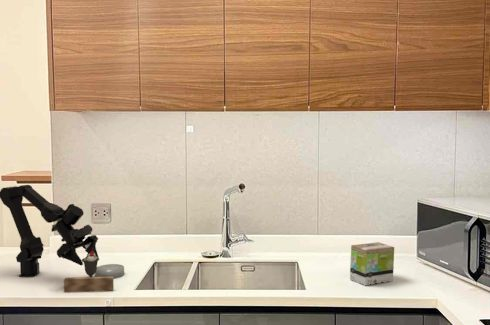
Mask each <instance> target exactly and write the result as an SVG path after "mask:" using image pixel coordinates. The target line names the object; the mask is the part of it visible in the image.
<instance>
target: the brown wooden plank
mask: <svg viewBox="0 0 490 325" xmlns="http://www.w3.org/2000/svg"><path fill="white" fill-rule="evenodd" d="M114 283H115V282H114V279H113V277H95V276H93V277H89V276H77V277H69V276H68V277H64V279H63V292H64V293H78V292H79V293H80V292H81V293H83V292H84V293H86V292H88V293H89V292H113V291H114V286H115V285H114Z"/></svg>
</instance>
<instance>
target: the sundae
mask: <svg viewBox="0 0 490 325" xmlns="http://www.w3.org/2000/svg"><path fill="white" fill-rule="evenodd" d="M92 250H93V249H92ZM81 260H82V262H83V265H84V270H85V274H86V275H87V276H88V277H94V276H95V273H96V270H97V267H98V262H99V261H100V257H99V258H97V257H96V255H95V253H94V251H91V252H89V253H87V254H86V256H85V257H83V258H82V259H81Z"/></svg>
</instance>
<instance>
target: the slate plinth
mask: <svg viewBox="0 0 490 325" xmlns="http://www.w3.org/2000/svg"><path fill="white" fill-rule="evenodd" d="M123 276H125V266H124V265H123V264H117V263H109V264H102V265H97V270H96V273H95V274H94V277H113V280H114V279H118V278H121V277H123Z"/></svg>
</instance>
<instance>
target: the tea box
mask: <svg viewBox="0 0 490 325" xmlns="http://www.w3.org/2000/svg"><path fill="white" fill-rule="evenodd" d="M394 261H395V247H394V246H393V245H388V244H385V243H382V242H379V241H378V242H369V243H360V244H352V245H351V247H350V263H349V264H350V267H349V268H350V269H349V280H351V281H353V282H355V281H356V282H355V283H357V282H358V283H357V284H359V283H361V284H360V285H362V284H364V285H366V286H370V284H371V285H376V284H375V283H377V284H382V283H381V282H384V283H388V282H387V281H392V282H393V281H394V267H395V266H394V263H395V262H394ZM364 285H363V286H364Z"/></svg>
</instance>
